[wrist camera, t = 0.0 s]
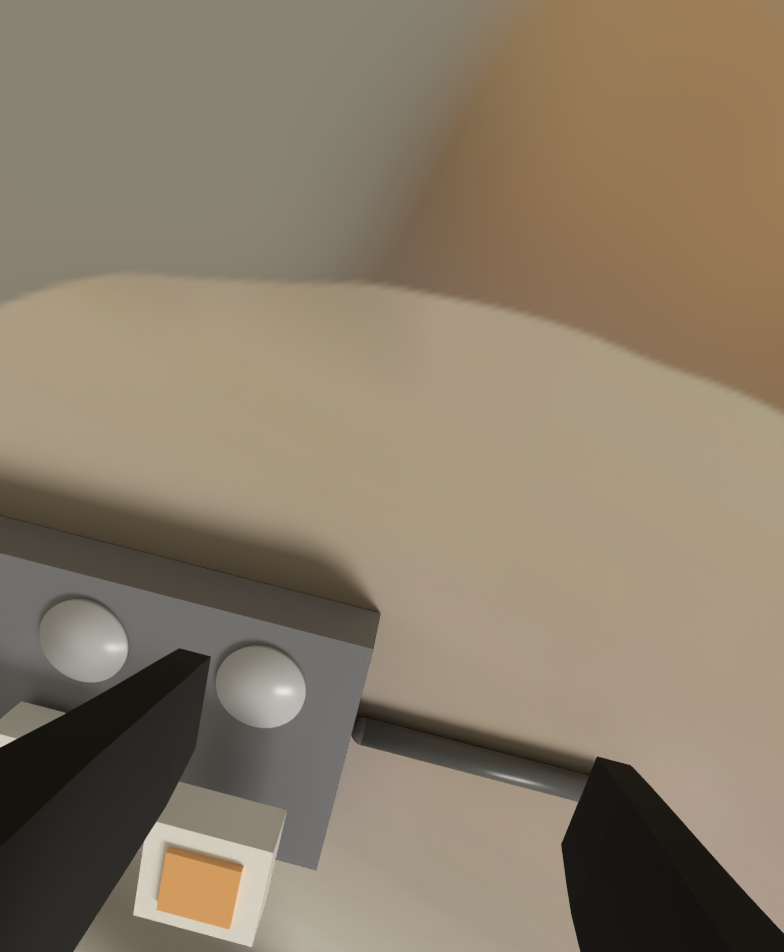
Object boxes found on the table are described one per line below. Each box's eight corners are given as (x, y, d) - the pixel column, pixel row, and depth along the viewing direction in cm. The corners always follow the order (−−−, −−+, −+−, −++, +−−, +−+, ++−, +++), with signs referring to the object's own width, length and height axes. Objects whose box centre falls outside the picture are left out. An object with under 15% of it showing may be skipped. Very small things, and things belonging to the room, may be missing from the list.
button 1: (266, 898, 18) (249, 954, 16) (157, 869, 18) (129, 921, 16) (287, 810, 17) (271, 859, 15) (171, 779, 17) (143, 825, 15)
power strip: (575, 878, 22) (594, 950, 19) (-107, 698, 23) (-178, 743, 20) (658, 684, 19) (693, 735, 17) (-109, 487, 20) (-190, 507, 17)
